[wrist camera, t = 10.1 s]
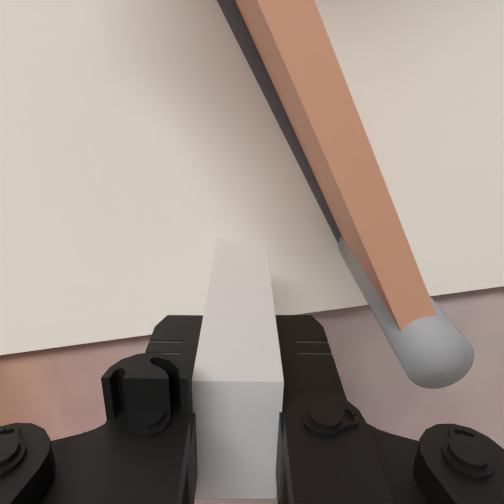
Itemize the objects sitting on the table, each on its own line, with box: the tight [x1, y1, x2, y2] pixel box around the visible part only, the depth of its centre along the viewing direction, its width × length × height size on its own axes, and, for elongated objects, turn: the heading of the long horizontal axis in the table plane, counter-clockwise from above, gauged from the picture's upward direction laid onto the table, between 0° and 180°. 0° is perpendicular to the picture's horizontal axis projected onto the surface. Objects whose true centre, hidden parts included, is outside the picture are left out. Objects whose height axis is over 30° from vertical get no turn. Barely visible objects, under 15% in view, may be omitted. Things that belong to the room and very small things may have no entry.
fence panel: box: [235, 0, 474, 389], centre depth 9 cm, size 13×1×7 cm, turn 27°
